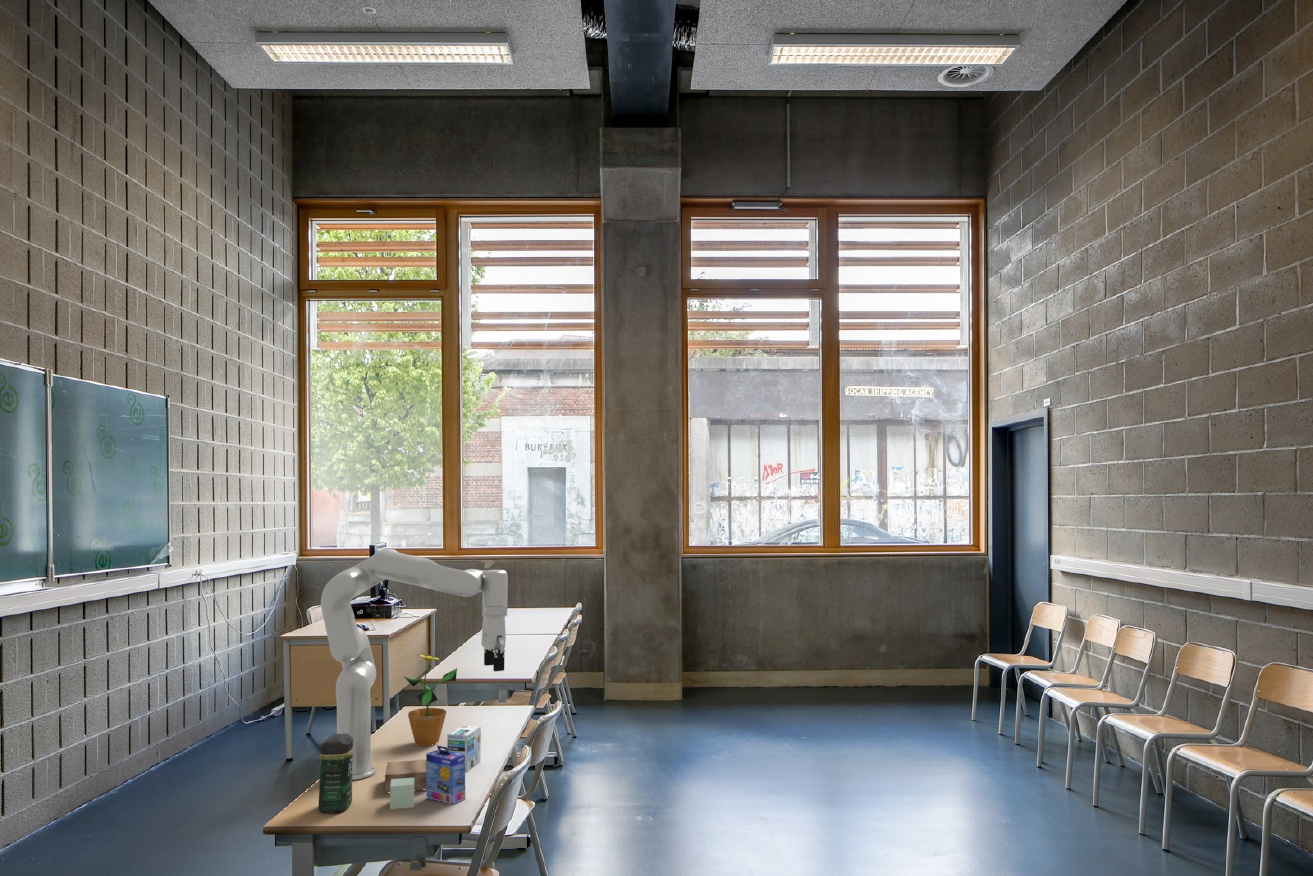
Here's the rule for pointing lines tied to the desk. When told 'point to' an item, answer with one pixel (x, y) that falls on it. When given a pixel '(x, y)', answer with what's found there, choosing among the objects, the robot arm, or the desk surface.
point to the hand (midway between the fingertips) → (494, 668)
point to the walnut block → (406, 773)
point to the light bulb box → (466, 744)
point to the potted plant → (428, 711)
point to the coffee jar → (335, 773)
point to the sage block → (402, 793)
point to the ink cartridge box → (445, 775)
